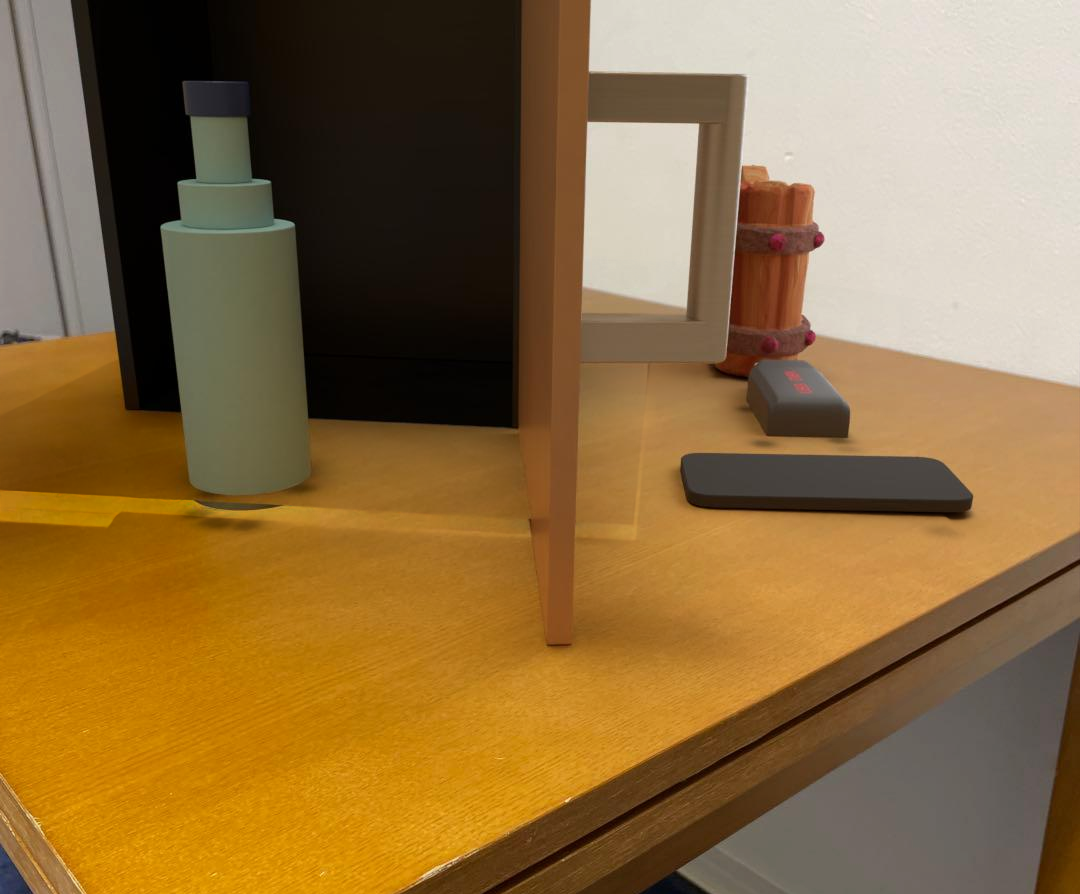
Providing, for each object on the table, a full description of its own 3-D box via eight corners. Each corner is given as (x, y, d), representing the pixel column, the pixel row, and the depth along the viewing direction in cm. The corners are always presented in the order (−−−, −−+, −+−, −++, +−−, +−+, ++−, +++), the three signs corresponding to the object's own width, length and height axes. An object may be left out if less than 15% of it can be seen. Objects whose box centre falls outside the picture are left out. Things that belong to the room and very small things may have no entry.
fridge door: (628, 444, 68) (657, -155, 55) (717, 642, 44) (802, -337, 31) (518, 445, 67) (523, -159, 55) (546, 645, 43) (566, -347, 31)
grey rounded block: (766, 437, 70) (770, 395, 69) (739, 389, 81) (742, 352, 80) (848, 439, 70) (853, 397, 69) (810, 391, 81) (814, 354, 80)
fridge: (527, 444, 68) (534, -159, 56) (127, 424, 70) (49, -156, 58) (556, 374, 84) (566, -102, 72) (231, 360, 87) (187, -102, 75)
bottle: (172, 509, 57) (119, 79, 49) (216, 469, 62) (176, 80, 55) (293, 515, 56) (260, 82, 48) (326, 474, 62) (301, 82, 54)
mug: (820, 388, 82) (844, 176, 76) (711, 386, 82) (727, 175, 76) (779, 345, 95) (797, 163, 90) (686, 344, 95) (698, 162, 89)
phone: (679, 451, 64) (938, 456, 63) (678, 465, 64) (936, 470, 64) (689, 495, 57) (980, 501, 57) (688, 510, 57) (977, 516, 57)
